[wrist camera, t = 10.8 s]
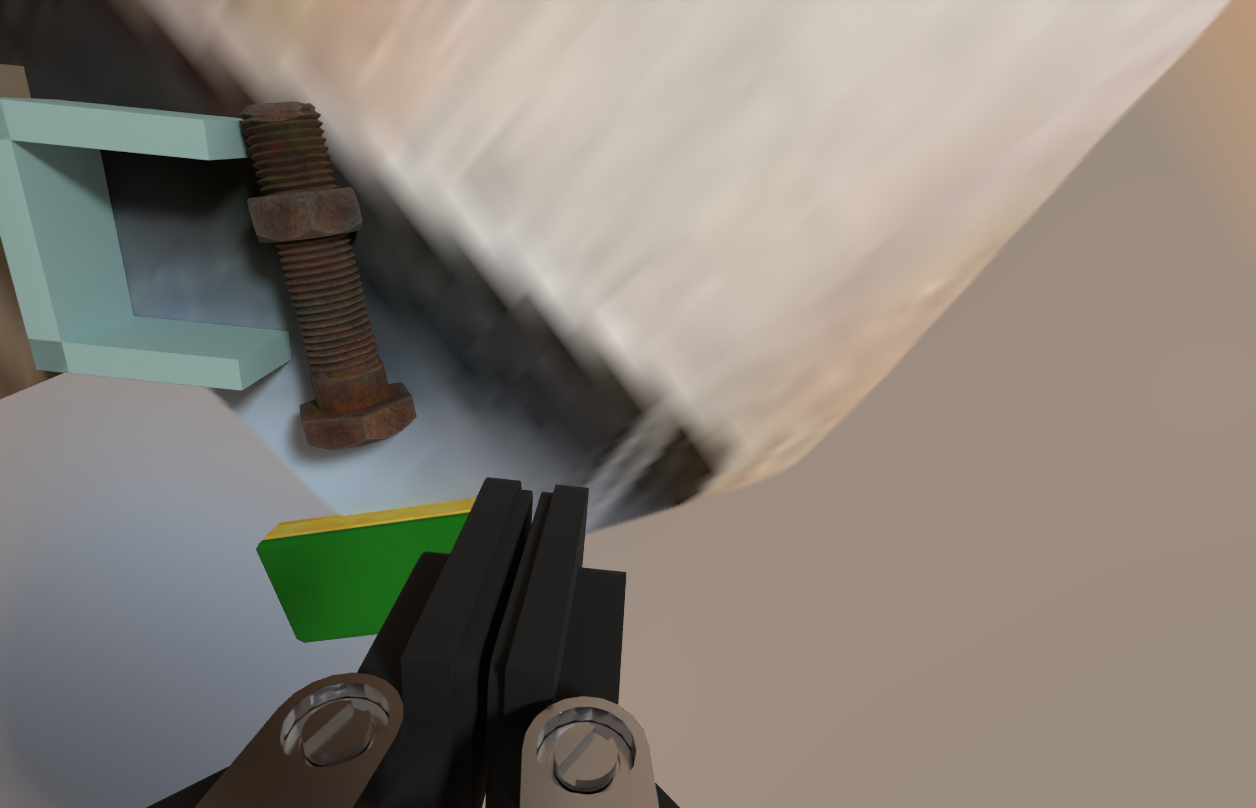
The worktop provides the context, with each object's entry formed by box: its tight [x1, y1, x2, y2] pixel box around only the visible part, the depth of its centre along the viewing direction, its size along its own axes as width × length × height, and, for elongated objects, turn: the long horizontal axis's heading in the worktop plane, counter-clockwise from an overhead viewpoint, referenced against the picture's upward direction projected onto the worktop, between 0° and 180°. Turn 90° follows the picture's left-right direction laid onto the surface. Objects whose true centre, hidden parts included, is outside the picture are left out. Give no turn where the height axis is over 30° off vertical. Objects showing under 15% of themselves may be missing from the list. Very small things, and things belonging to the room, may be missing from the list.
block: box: [0, 97, 292, 390], centre depth 30 cm, size 12×10×4 cm
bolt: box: [239, 102, 417, 449], centre depth 31 cm, size 6×5×15 cm
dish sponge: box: [256, 498, 476, 643], centre depth 39 cm, size 7×14×2 cm, turn 100°
